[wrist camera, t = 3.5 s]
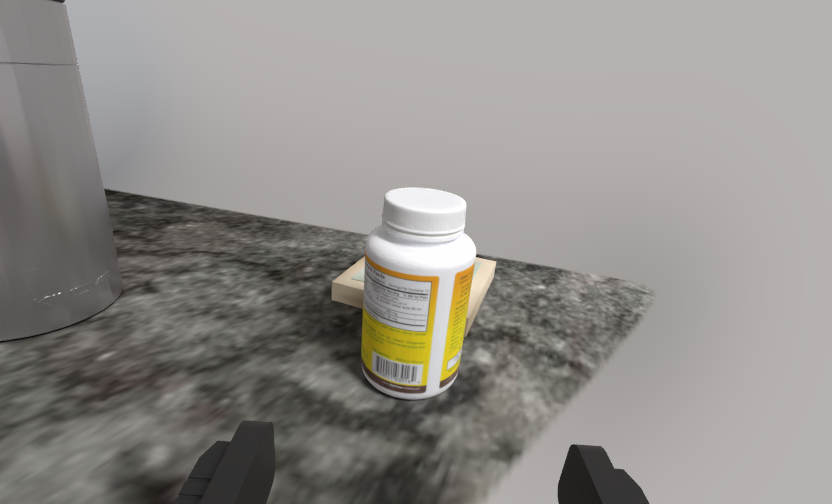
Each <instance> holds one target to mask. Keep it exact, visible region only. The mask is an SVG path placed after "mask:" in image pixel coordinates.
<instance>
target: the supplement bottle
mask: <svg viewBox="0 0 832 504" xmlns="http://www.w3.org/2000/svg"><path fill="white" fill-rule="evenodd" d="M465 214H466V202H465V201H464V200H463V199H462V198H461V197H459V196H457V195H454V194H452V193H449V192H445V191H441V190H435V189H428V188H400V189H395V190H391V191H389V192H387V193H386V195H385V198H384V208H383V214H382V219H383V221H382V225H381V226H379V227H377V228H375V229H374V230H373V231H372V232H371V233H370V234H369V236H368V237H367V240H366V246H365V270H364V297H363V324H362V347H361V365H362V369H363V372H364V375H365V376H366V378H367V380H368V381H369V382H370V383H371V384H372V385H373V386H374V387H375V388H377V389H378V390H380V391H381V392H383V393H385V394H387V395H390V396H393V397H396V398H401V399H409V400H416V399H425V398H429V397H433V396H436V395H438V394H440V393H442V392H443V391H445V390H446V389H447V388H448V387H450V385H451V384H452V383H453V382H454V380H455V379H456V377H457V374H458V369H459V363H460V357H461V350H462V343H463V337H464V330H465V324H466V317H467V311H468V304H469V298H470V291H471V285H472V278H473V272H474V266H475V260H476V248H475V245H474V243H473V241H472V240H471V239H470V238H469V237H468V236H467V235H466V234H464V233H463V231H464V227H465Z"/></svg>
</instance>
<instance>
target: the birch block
mask: <svg viewBox="0 0 832 504" xmlns="http://www.w3.org/2000/svg"><path fill="white" fill-rule="evenodd" d="M495 266H496V262H495V261H490V260H486V259H481V258H477V257H476V260H475V266H474V272H473V278H472V285H471V291H470V298H469V304H468V311H467V317H466V324H465V330H464V337H465V338H466V336H467V333H468V331H469V329H470V327H471V325H472V323H473V320H474V318H475V316H476V314H477V312H478V310H479V307H480V305H481V303H482V301H483V299H484V297H485V295H486V292H487V290H488V288H489V286H490V284H491V282H492V279H493V277H494V271H495ZM364 270H365V256H364V257H363V258H362V259H361V260H359V261H358V262H357V263H355V264H354V265H353V266H351V267H350V268H349V269H348V270H346V271H345V272H344V273H342V274H341V275H340V276H339V277H337V278H336V279H335V280H333V281H332V300H333V301H337V302H340V303H344V304H347V305H351V306H354V307H358V308H362V309H363V297H364Z"/></svg>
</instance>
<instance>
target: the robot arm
mask: <svg viewBox="0 0 832 504" xmlns="http://www.w3.org/2000/svg"><path fill="white" fill-rule="evenodd" d="M64 1H65V0H0V341H4V340H11V339H17V338H24V337H29V336H33V335H37V334H42V333H46V332H50V331H53V330H56V329H59V328H63V327H66V326H69V325H72V324H74V323H77V322H79V321H81V320H84V319H86V318H89V317H91V316H92V315H94V314H96V313H98V312H100V311H102V310H103V309H105V308H106V307H108V306H109V305H110V304H112V303H113V302H114V301H115V300H116V299H117V298H118V297H119V296H120V294H121V292H122V290H123V281H122V276H121V272H120V267H119V262H118V257H117V252H116V247H115V242H114V237H113V231H112V226H111V221H110V216H109V211H108V207H107V202H106V197H105V192H104V187H103V182H102V178H101V173H100V168H99V163H98V159H97V154H96V149H95V144H94V139H93V134H92V129H91V125H90V119H89V115H88V110H87V105H86V100H85V95H84V91H83V86H82V82H81V76H80V71H79V66H78V65H77V64H78V63H77V58H76V53H75V48H74V43H73V39H72V34H71V29H70V24H69V19H68V14H67V10H66V5H65V4H62V3H63V2H64ZM274 474H275V446H274V429H273V424H272V422H258V421H242V422H241V423H240V425H239V427H238V429H237V430H236V432H235V434H234V436H233V438H232V440H231V442H227V441H217V442H216V443H215V444H214V445H212V446H211V447H210V448H209V449H208V450H207V451H206V452H205V453H204V454H203V455H202V456H201V457H200V458H199V459H198V461H197V463H196V465H195V466H194V468H193V470H192V472H191V473H190V475H189V477H188V481H186V482H185V484H184V486H183V487H182V489H181V491H180V493H179V496H178V498H176V500H175V501H174V503H173V504H266V502H267V499H268V496H269V493H270V490H271V487H272V484H273V479H274ZM558 502H559V504H649V502H648V500H647V498H646V497H645V495H644V493H643V491H642V489H641V488H640V486H638V484H637V483H636V482H635V481H634V480H633V479H632V478H631V477H630V476H629V475H628V474H627V473H626V472H625V471H624V470H623V469H614V467H613V465H612V463H611V461H610V459H609V457H608V455H607V453H606V451H605V450H604V449H603V448H602V447H601V446H589V445H588V446H587V445H574V444H573V445H571V446H570V448H569V451H568V454H567V458H566V460H565V464H564V467H563V470H562V473H561V477H560V480H559V483H558Z"/></svg>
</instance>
